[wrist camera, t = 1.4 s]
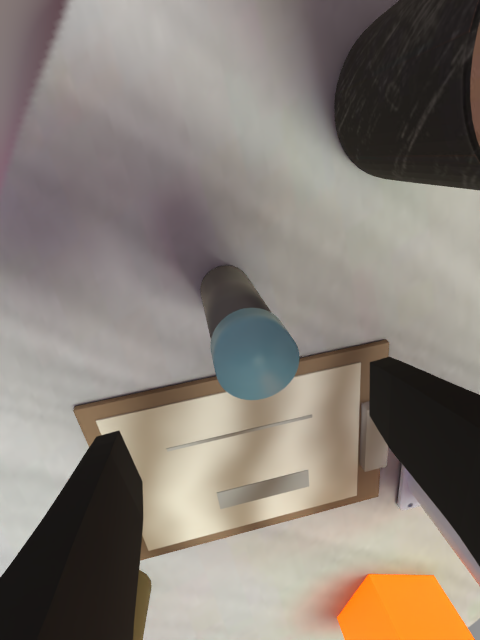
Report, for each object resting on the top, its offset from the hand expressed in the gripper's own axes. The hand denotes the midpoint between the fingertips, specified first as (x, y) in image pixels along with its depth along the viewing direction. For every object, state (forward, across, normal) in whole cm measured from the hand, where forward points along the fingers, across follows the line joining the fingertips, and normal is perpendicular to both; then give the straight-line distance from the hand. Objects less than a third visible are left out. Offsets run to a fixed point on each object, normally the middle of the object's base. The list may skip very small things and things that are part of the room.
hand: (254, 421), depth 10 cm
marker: (+10, -1, 0) cm, 10 cm away
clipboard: (+10, 0, +13) cm, 17 cm away
